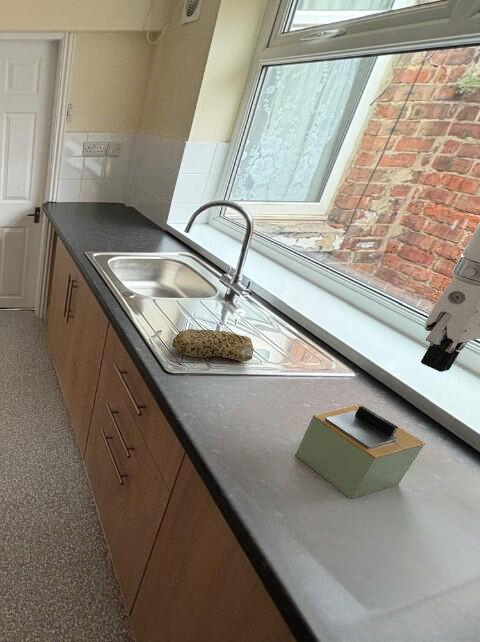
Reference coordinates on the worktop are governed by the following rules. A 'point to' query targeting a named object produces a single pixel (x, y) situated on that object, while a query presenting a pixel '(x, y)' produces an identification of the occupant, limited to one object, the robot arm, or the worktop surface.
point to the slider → (365, 427)
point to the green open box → (356, 456)
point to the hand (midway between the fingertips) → (434, 366)
